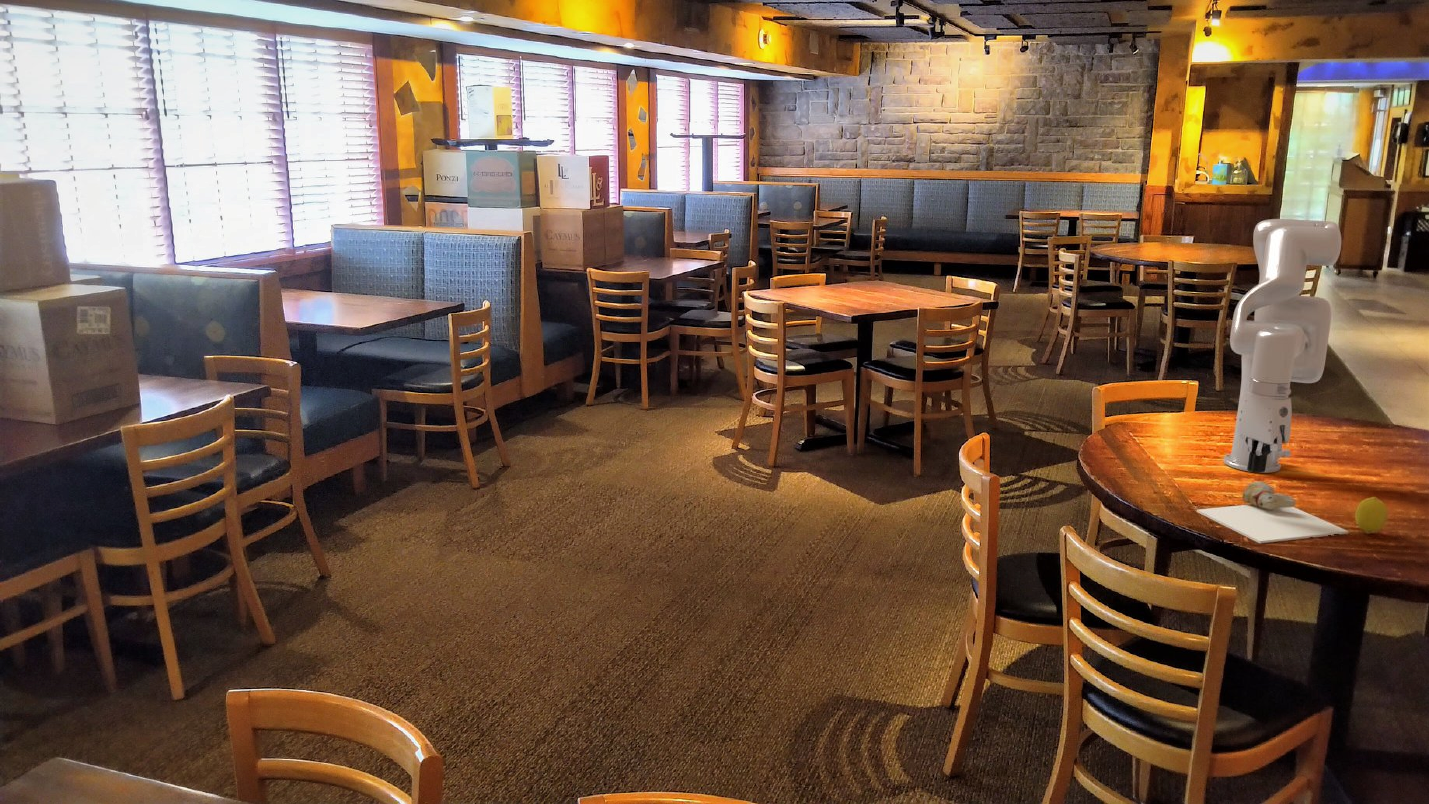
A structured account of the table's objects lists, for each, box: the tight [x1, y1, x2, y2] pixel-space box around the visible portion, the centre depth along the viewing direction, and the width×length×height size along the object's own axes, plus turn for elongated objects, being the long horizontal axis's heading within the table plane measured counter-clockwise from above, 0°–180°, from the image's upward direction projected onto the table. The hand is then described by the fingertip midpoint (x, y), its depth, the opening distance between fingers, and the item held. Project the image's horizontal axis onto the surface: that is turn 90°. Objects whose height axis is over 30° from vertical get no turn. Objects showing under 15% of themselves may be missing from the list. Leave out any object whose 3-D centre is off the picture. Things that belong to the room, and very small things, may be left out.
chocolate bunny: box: [1242, 480, 1297, 509], centre depth 224 cm, size 6×8×10 cm
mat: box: [1196, 503, 1349, 544], centre depth 217 cm, size 22×18×1 cm
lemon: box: [1354, 496, 1388, 535], centre depth 211 cm, size 6×6×8 cm
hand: (1255, 471), depth 221 cm, fingers closed
